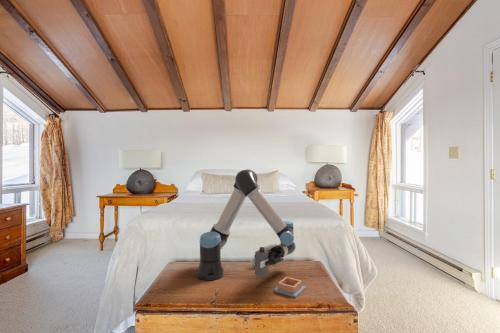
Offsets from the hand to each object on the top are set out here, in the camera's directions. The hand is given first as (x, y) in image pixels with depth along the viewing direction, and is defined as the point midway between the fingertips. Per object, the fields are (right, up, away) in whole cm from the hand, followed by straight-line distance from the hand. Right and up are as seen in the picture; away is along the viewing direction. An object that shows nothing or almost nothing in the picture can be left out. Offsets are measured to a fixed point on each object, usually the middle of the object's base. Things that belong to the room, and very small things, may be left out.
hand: (256, 264), depth 138 cm
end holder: (+17, -13, 0) cm, 22 cm away
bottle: (+3, -7, +4) cm, 9 cm away
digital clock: (+10, -13, +38) cm, 42 cm away
